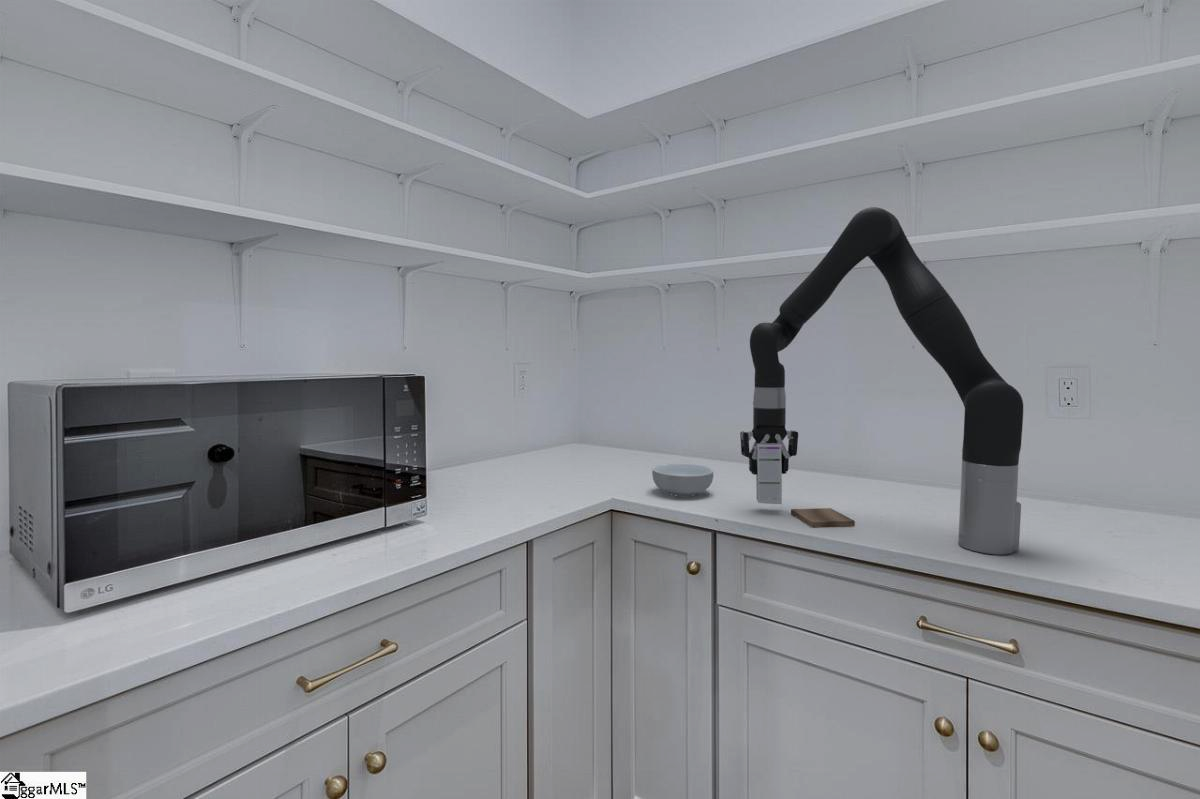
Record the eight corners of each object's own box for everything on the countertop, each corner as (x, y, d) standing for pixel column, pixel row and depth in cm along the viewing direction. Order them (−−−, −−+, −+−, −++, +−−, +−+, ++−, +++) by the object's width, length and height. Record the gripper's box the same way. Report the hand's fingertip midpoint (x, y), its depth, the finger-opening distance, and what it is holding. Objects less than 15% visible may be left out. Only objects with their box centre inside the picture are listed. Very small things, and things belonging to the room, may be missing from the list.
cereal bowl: (639, 493, 161) (639, 468, 160) (678, 484, 172) (678, 460, 171) (687, 504, 148) (687, 477, 147) (725, 494, 159) (725, 469, 159)
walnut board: (830, 512, 140) (830, 508, 139) (854, 526, 129) (854, 520, 129) (790, 514, 139) (790, 509, 138) (812, 527, 128) (812, 522, 128)
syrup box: (782, 504, 137) (783, 444, 136) (756, 503, 138) (757, 443, 137) (779, 498, 142) (780, 440, 141) (755, 497, 144) (755, 440, 143)
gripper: (746, 407, 134) (745, 477, 135) (804, 406, 136) (804, 475, 137) (735, 405, 142) (735, 471, 143) (791, 404, 143) (790, 470, 144)
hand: (768, 473), depth 140 cm, fingers closed on syrup box, 6 cm apart
